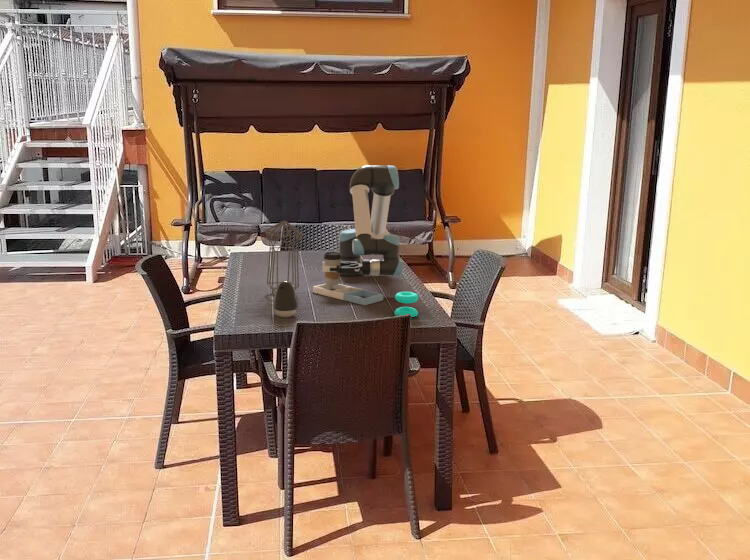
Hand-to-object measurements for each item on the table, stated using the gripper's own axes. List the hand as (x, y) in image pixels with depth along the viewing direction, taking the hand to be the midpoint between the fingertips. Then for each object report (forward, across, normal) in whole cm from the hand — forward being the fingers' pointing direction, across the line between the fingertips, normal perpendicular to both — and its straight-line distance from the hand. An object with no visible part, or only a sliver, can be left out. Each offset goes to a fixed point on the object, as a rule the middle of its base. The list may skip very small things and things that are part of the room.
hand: (322, 266), depth 364 cm
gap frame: (-12, -7, -12) cm, 19 cm away
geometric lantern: (+18, -4, -13) cm, 22 cm away
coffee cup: (-5, 0, -9) cm, 10 cm away
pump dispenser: (+16, -42, -12) cm, 46 cm away
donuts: (-36, -41, -12) cm, 56 cm away
